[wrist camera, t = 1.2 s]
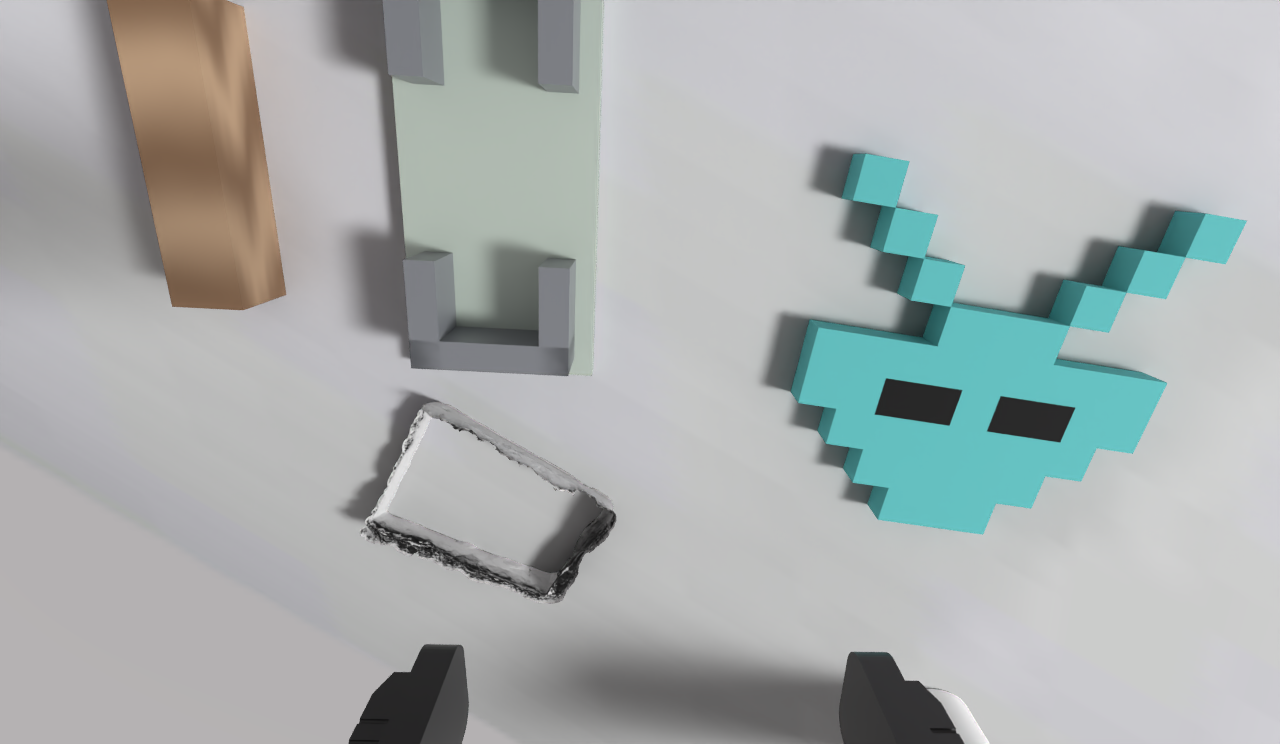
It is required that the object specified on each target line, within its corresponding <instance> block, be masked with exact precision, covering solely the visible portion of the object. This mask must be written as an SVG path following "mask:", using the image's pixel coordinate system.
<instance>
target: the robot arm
mask: <svg viewBox="0 0 1280 744" xmlns="http://www.w3.org/2000/svg"><path fill="white" fill-rule="evenodd" d="M468 707H469V701H468V689H467V679H466V668H465V658H464V650H463V647H462V645H433V644H426V645H424V646H423V647H422V649H421V650H420V652H419V655H418V657H417V659H416V661H415V663H414V666H413V668H412V670H411V672H394V673H393V674H392V675H391V676H390V677H389V678H388V679H387V680H386V681H385V682H384V683H383V684H382V685H381V686H380V687H379V688H378V689H377V690H376V691H375V692H374V693H373V694H372V696H371V698H370V700H369V702H368V704H367V706H366V708H365V710H364V712H363V714H362V716H361V718H360V722H359V724H357V726H356V727H355V729H354V731H353V733H352V735H351V737H350V739H349V744H462V741H463V737H464V733H465V730H466V725H467V718H468ZM839 721H840V728H841V734H842V738H843V741H844V744H964V742H963V740H962V738H961V737H960V735H959V734H957V733H956V728H955V726H954V724H953V723H952V721H951V719H950V717H949V716H948V714H947V712H946V710H945V709H944V707H943V705H942V703H941V702H940V701H939V700H938V699H937V698H936V697H935V696H934V695H933V694H932V693H931V692H929V691H928V690H927V689H926V688H925V687H924V686H923V685H922V684H921V683H920V682H919V681H905V680H904V678H903V676H902V674H901V672H900V670H899V668H898V667H897V665H896V663H895V661H894V659H893V657H892V656H891V655H890V654H889V653H887V652H851V653H850V654H849V656H848V659H847V665H846V671H845V677H844V682H843V688H842V694H841V700H840V706H839Z"/></svg>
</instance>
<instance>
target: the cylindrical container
mask: <svg viewBox="0 0 1280 744" xmlns="http://www.w3.org/2000/svg"><path fill="white" fill-rule="evenodd" d="M927 690H928V691H929V692H931V693H932V694H933V695H934V696H935V697H936V698H937V699H938V700H939V701H940V702H941V703H942V705H943V707H944V709H945V710H946V712H947V714H948V716H949V717H950V719H951V721H952V723H953V724H954V726H955V728H956V733H957V734H959V735H960V737H961V738H962V740H963V742H964V744H990V743H989V742H988V740H987V738H986V737H985V735H984V734H983V732H982V730H981V729H980V727H979V725H978V724H977V722H976V720H975V719H974V717H973V715H972V714H971V712H970V710H969V709H968V707H967V705H966V704H965V703H964V702H963V701H962V700H961V699H960V698H959V697H957V696H956V695H954V694H952V693H950V692H948V691H944V690H940V689H927Z"/></svg>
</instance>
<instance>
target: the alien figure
mask: <svg viewBox="0 0 1280 744" xmlns="http://www.w3.org/2000/svg"><path fill="white" fill-rule="evenodd" d="M908 165H909V161H904V160H899V159H893V158H887V157H882V156H876V155H870V154H853V157H852V161H851V164H850V168H849V172H848V176H847V180H846V183H845V187H844V191H843V195H842V199H848V200H853V201H859V202H865V203H871V204H877V205H882V207H881V211H880V214H879V218H878V221H877V225H876V228H875V232H874V235H873V239H872V242H871V246H870V247H871V248H874V249H876V250H879V251H882V252H887V253H893V254H899V255H905V256H908V260H907V263H906V266H905V269H904V273H903V276H902V279H901V282H900V286H899V289H898V292H897V294H899V295H901V296H903V297H905V298H907V299H909V300H912V301H918V302H924V303H930V304H934V305H933V308H932V311H931V314H930V317H929V320H928V323H927V326H926V329H925V332H924V335H923V337H917V336H911V335H905V334H898V333H892V332H886V331H879V330H873V329H867V328H861V327H854V326H848V325H842V324H836V323H829V322H823V321H817V320H811V319H810V320H809V324H808V328H807V331H806V335H805V339H804V343H803V347H802V350H801V354H800V358H799V362H798V366H797V369H796V373H795V377H794V381H793V384H792V388H791V393H792V394H793V396H794V397H795V399H796V400H797V402H798V403H802V404H808V405H815V406H822V407H824V410H823V413H822V417H821V420H820V424H819V427H818V432H819V434H820V435H821V437H822V438H823V440H824V441H825V443H826V444H831V445H838V446H845V447H849V451H848V454H847V457H846V460H845V463H844V467H843V469H844V471H845V472H846V473H847V475H848V476H849V478H850V479H851V481H852V482H853V483H859V484H866V485H873V489H872V492H871V495H870V498H869V501H868V506H869V507H870V509H871V510H872V512H873V513H874V515H875V516H876V518H877V519H878V520H884V521H891V522H898V523H905V524H912V525H919V526H927V527H934V528H941V529H948V530H955V531H962V532H969V533H976V534H983V533H984V531H985V528H986V526H987V524H988V521H989V519H990V516H991V514H992V512H993V509H994V507H995V504H996V503H997V504H1004V505H1011V506H1018V507H1024V508H1032V505H1033V503H1034V501H1035V499H1036V496H1037V494H1038V492H1039V490H1040V487H1041V485H1042V483H1043V481H1044V478H1045V476H1047V477H1054V478H1061V479H1067V480H1074V481H1082V478H1083V476H1084V474H1085V472H1086V470H1087V468H1088V466H1089V463H1090V461H1091V459H1092V457H1093V455H1094V453H1095V451H1096V448H1099V449H1105V450H1112V451H1119V452H1125V453H1132V454H1133V452H1134V450H1135V448H1136V446H1137V444H1138V442H1139V440H1140V438H1141V436H1142V434H1143V432H1144V430H1145V428H1146V426H1147V424H1148V422H1149V419H1150V417H1151V415H1152V413H1153V411H1154V409H1155V407H1156V405H1157V403H1158V401H1159V399H1160V397H1161V395H1162V393H1163V391H1164V389H1165V387H1166V385H1167V383H1166V382H1164V381H1161V380H1159V379H1157V378H1154V377H1152V376H1149V375H1147V374H1145V373H1142V372H1136V371H1130V370H1124V369H1117V368H1111V367H1105V366H1099V365H1092V364H1086V363H1080V362H1074V361H1067V360H1061V359H1056V358H1057V356H1058V353H1059V351H1060V349H1061V346H1062V344H1063V341H1064V339H1065V337H1066V334H1067V332H1068V329H1069V327H1070V326H1071V327H1077V328H1083V329H1090V330H1096V331H1102V332H1108V333H1109V331H1110V329H1111V327H1112V324H1113V322H1114V320H1115V317H1116V315H1117V313H1118V311H1119V308H1120V306H1121V304H1122V302H1123V299H1124V297H1125V295H1126V293H1132V294H1138V295H1144V296H1150V297H1156V298H1162V299H1166V298H1167V296H1168V294H1169V292H1170V290H1171V287H1172V285H1173V283H1174V281H1175V279H1176V277H1177V275H1178V272H1179V270H1180V268H1181V266H1182V264H1183V262H1184V260H1185V257H1186V258H1192V259H1198V260H1203V261H1209V262H1215V263H1221V264H1226V262H1227V260H1228V258H1229V256H1230V254H1231V252H1232V250H1233V248H1234V246H1235V244H1236V242H1237V240H1238V238H1239V236H1240V234H1241V232H1242V230H1243V228H1244V226H1245V224H1246V222H1247V221H1245V220H1239V219H1234V218H1228V217H1222V216H1217V215H1211V214H1204V213H1193V212H1181V211H1175V213H1174V215H1173V217H1172V220H1171V222H1170V224H1169V226H1168V229H1167V231H1166V233H1165V235H1164V238H1163V240H1162V242H1161V244H1160V247H1159V249H1158V251H1157V252H1151V251H1145V250H1139V249H1134V248H1128V247H1122V246H1118V248H1117V251H1116V253H1115V255H1114V258H1113V260H1112V262H1111V265H1110V267H1109V269H1108V272H1107V274H1106V277H1105V279H1104V281H1103V284H1102V286H1099V285H1093V284H1087V283H1081V282H1075V281H1069V280H1063V282H1062V285H1061V287H1060V290H1059V292H1058V295H1057V297H1056V300H1055V302H1054V305H1053V307H1052V310H1051V312H1050V315H1049V317H1048V318H1044V317H1038V316H1032V315H1026V314H1020V313H1014V312H1007V311H1001V310H995V309H989V308H983V307H977V306H971V305H965V304H958V303H953V300H954V297H955V294H956V291H957V288H958V285H959V282H960V280H961V277H962V274H963V271H964V268H965V265H962V264H959V263H955V262H952V261H949V260H943V259H937V258H932V257H926V256H925V255H926V252H927V248H928V245H929V242H930V239H931V236H932V233H933V230H934V227H935V223H936V220H937V217H938V215H935V214H930V213H924V212H918V211H912V210H906V209H900V208H896V205H897V202H898V199H899V195H900V192H901V189H902V185H903V182H904V178H905V175H906V172H907V168H908Z"/></svg>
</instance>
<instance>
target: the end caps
mask: <svg viewBox="0 0 1280 744" xmlns="http://www.w3.org/2000/svg"><path fill="white" fill-rule="evenodd" d="M382 1H383V14H384V26H385V39H386V52H387V65H388V75H390V76H393V77H396V78H399V79H401V80H404V81H407V82H410V83H412V84H424V85H440V86H445V85H444V65H443V45H442V25H441V5H440V0H382ZM580 15H581V0H538V84H539V85H540V86H542V87H543V88H544V89H545V90H546V91H548V92H558V93H575V94H579V71H580ZM403 270H404V282H405V295H406V308H407V321H408V334H409V346H410V359H411V368H418V369H437V370H457V371H477V372H497V373H517V374H536V375H556V376H568V375H569V372H570V369H571V366H572V363H573V360H574V346H575V291H576V259H558V258H547V259H546V260H545V261H544V262H543V263H542V264H541V265H540V266H539V330H520V329H501V328H482V327H463V326H457V325H456V305H455V285H454V265H453V253H447V252H428V251H424V252H421V253H419V254H416V255H414V256H411V257H408V258H406V259H403Z"/></svg>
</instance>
